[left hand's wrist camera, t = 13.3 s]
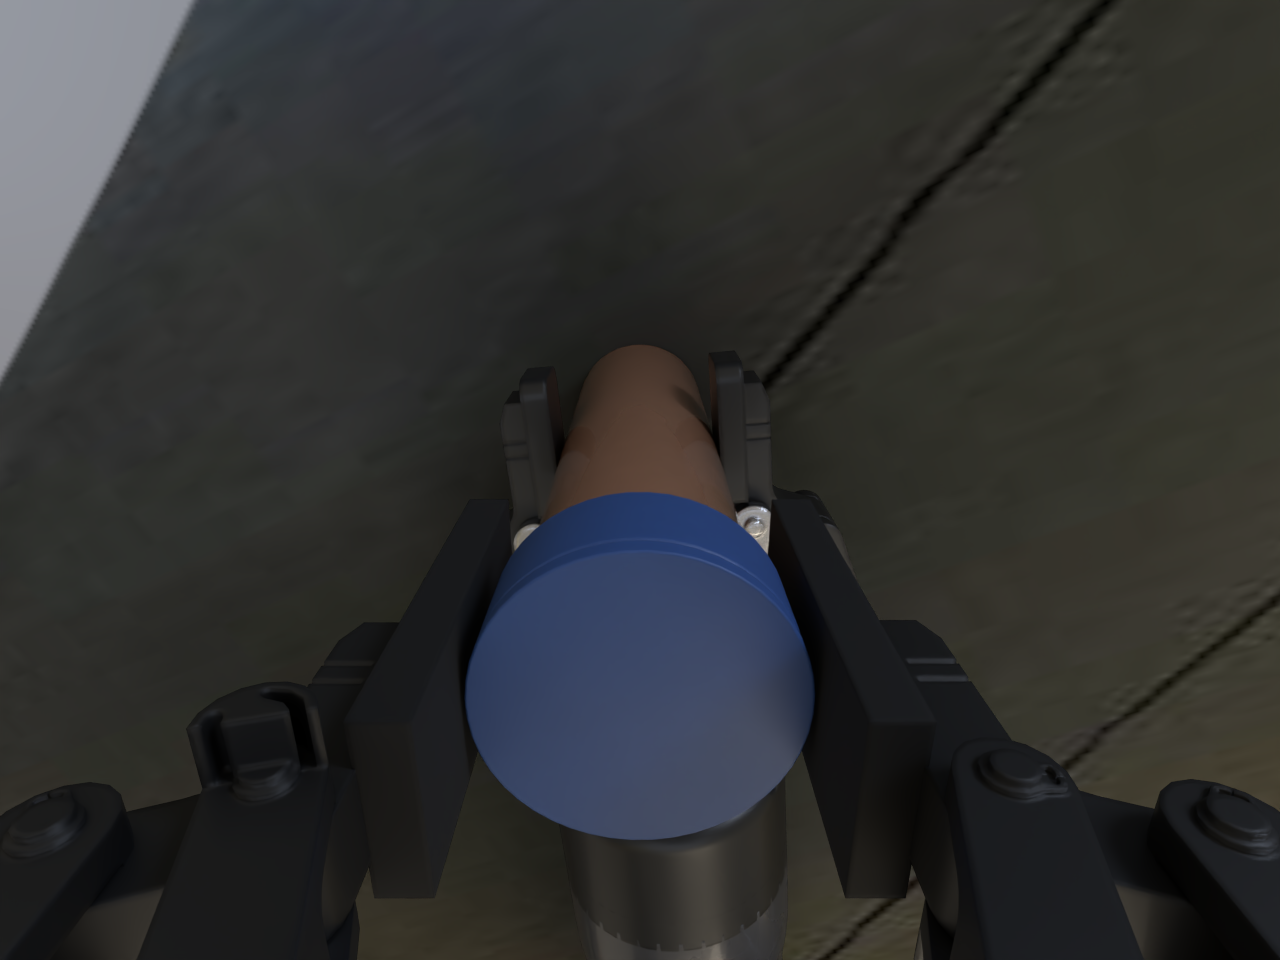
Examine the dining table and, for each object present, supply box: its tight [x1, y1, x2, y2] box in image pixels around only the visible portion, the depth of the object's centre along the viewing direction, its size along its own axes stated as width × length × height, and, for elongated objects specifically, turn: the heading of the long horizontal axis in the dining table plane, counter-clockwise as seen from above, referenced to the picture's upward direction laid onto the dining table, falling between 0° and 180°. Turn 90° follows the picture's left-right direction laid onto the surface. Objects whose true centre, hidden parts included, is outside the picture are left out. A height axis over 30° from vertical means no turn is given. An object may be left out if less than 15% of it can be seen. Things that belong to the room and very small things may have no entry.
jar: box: [539, 345, 741, 526], centre depth 18 cm, size 4×4×16 cm
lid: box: [464, 492, 815, 840], centre depth 11 cm, size 5×5×2 cm
